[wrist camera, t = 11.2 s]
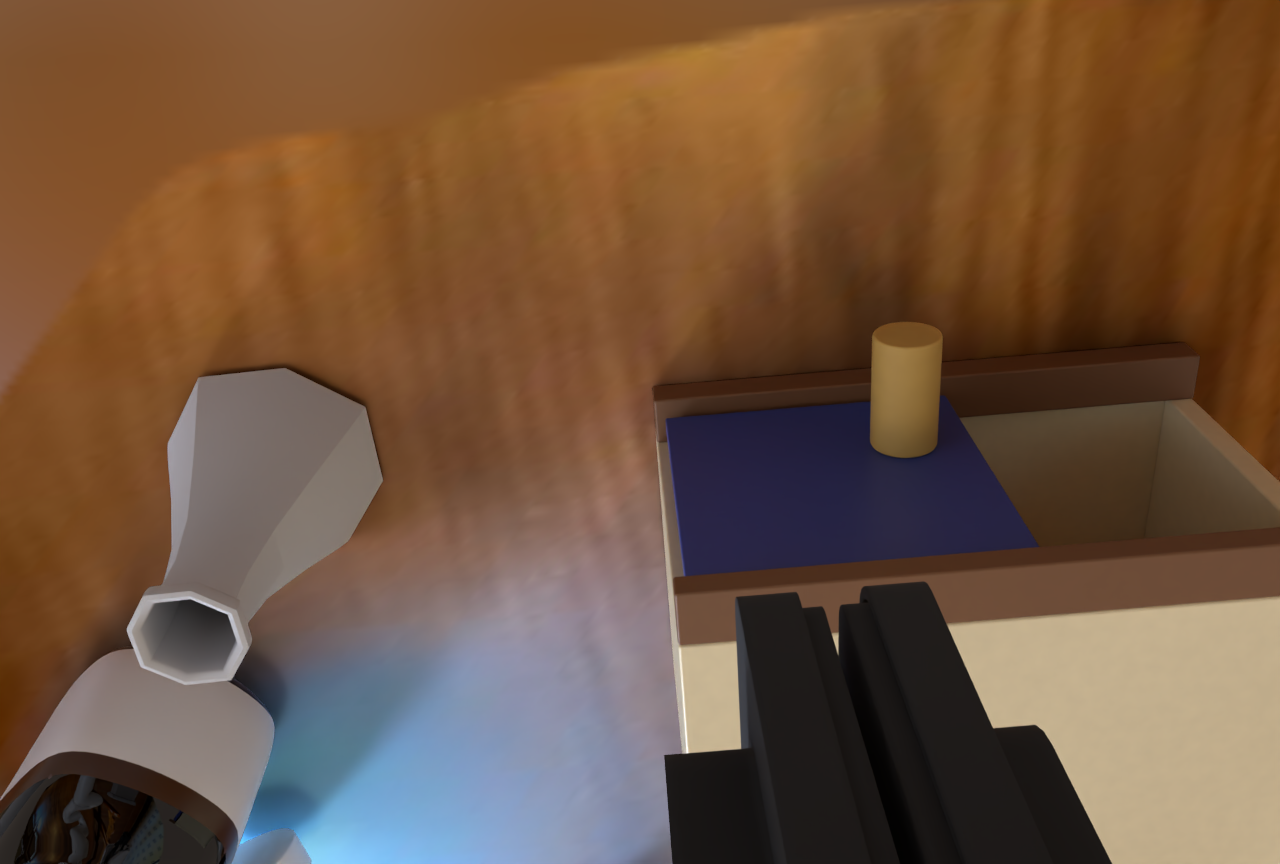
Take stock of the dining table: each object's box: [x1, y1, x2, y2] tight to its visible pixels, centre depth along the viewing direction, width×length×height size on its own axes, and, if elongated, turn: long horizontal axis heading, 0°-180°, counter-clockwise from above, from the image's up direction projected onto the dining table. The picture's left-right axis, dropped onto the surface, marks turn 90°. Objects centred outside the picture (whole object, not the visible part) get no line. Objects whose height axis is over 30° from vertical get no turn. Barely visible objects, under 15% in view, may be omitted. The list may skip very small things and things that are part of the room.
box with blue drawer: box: [652, 342, 1280, 864], centre depth 36 cm, size 12×18×12 cm, turn 94°
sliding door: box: [666, 322, 1039, 576], centre depth 33 cm, size 4×9×9 cm, turn 94°
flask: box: [126, 368, 383, 685], centre depth 35 cm, size 7×7×10 cm
